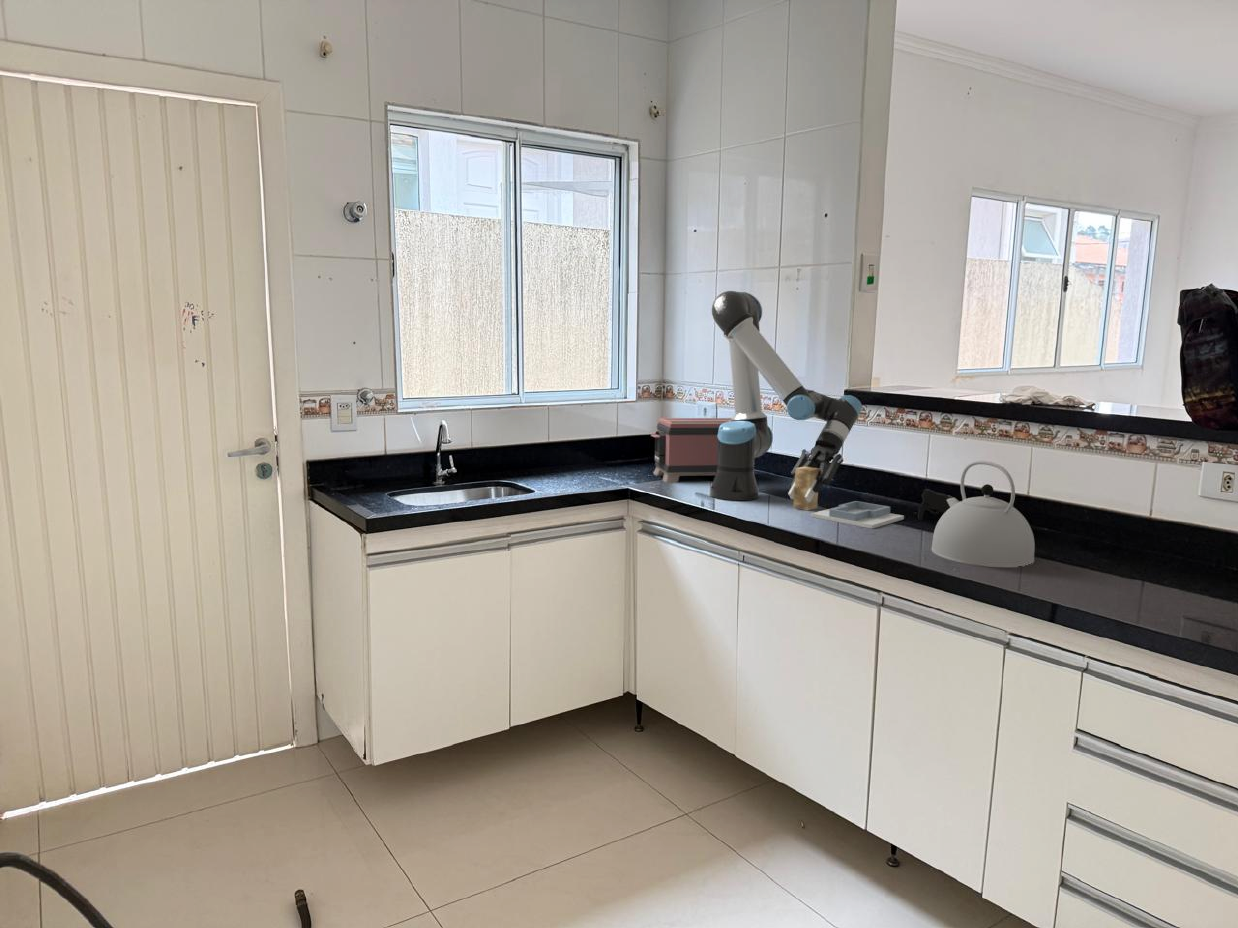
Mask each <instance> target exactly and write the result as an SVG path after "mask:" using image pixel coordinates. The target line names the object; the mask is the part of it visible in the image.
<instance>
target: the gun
mask: <svg viewBox="0 0 1238 928" xmlns="http://www.w3.org/2000/svg"><path fill="white" fill-rule="evenodd" d="M921 498H922V502H921V504H920V505H919V507H918V511H917V519H918V521H920V522H924V521H923V520H924V519H923V517H924V514H925V511H928V512H930V513H931V514H933V515H939V514H940V513H943V514H944V513H945V512H946V511H947V510H948V509H949V508H950V506H949V504H948V502H947V499H950V498H954V496H951V495H949V494H948V495H947V494H945V493H940V492H935V491H933V490H932V489H929V488H925V489H924V490H923V491H922V493H921ZM957 500H958V499H957ZM958 501H959V502H961V501H960V500H958ZM928 507H929V508H928ZM932 508H934V509H935V510H936V512H935V511H934V510H932Z"/></svg>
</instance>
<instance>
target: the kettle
mask: <svg viewBox="0 0 1238 928" xmlns="http://www.w3.org/2000/svg"><path fill="white" fill-rule="evenodd" d="M977 465H985V466H990V467H995V468H997V469H998V470H1000V471H1001V472H1002V473H1003V474H1004V475H1005V476H1006V478H1007V480H1008V482H1009V486H1010V493H1011V494H1010V501H1009V502H1007V501H1004V500H1003V499H999V498H996V497H993V496H991V495H992V494H994V487H993V486H992V485H991V484H987V483H986V484H984V485H982V486H981V490H980V491H981V493H982V494H983V496H982V495H981V496H972V497H968V498H967V496H966V492H965V491H966V490H965V477H966V474H967V473H968V471H969V470H970V469H971V468H972V467H974V466H977ZM959 483H960V494H961V497H962V498H961V499H962V500H961V501H960V500H959V501H960V502H959V501H958V499H957V498H956V497H953V498H950V499H947V502H948V504H949V506H950V508H949V509H948V510H947V511H946V512H945V513H943V514H942V515H941V517H940V518H939V520H938V521H937V523H936V525H935V529H934V531H933V537H932V543H931V549H930V550H931V552H932V553H933V554H935V555H937V556H938V557H940V558H943V559H946V560H949V561H952V562H958V563H962V564H966V565H971V566H979V567H990V568H1019V567H1018V566H1022V567H1026V566H1025V565H1027V566H1029V565H1028V564H1030V565H1032V564H1033V563H1034V562H1035V551H1036V549H1035V546H1036V545H1035V537H1034V533H1033V530H1032V528H1031V525H1030V523H1029V521H1028V520H1027V519H1026V517H1025V516H1024V515H1023V514H1022V513H1021V512H1020V511H1019V510H1018V509H1017V508H1015V507H1014V502H1015V498H1016V488H1015V487H1016V486H1015V484H1014V480H1013V477H1012V476H1011V474H1010V473H1009V471H1008V470H1007V469H1005V467H1004V466H1001V464H998V463H994V462H993V461H987V460H976V461H973V462H971V463H969V464H967V465H966V466H965V468H964V469H963V471H962V474H961V477H960V482H959ZM990 496H991V497H990ZM1031 563H1032V564H1031Z"/></svg>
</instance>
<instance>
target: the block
mask: <svg viewBox="0 0 1238 928" xmlns="http://www.w3.org/2000/svg"><path fill="white" fill-rule="evenodd" d="M819 469H820V467H819V468H818V467H813V468H812V467H799V468H796V470H795V490H794V499H793V508H794V509H798V508H799V510H804V511H810V510H811V509H812V510H815V508H816V509H818V499H819V491H818V492H817V493H815V494H814V496H813V498H812V500H811V502H807V500H806V498H805V495H806V493H807V491H808V489H809V488H810V486H811V484H812V482H813V480H814V479H815V480H817V478H816V477H818V473H819ZM812 510H811V511H812Z"/></svg>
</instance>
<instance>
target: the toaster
mask: <svg viewBox="0 0 1238 928" xmlns="http://www.w3.org/2000/svg"><path fill="white" fill-rule="evenodd" d="M732 418H733V417H719V418H718V417H713V418H711V417H698V418H697V417H682V418H681V417H667V418H666V417H660V418H658V423H657V425H656V429H657V430H655V431H656V432H655V434H653V433H652V434H650V437H652V438H654V461H655V462H654V465H655V469H654V471H653V472H652V473H653V475H654V476H657V477H660V476H661V477H662V481H663V482H664V483H667V484H669V483H675V484H676V483H679V479H680V477H689V476H693V477H694V476H695V477H697V476H715V475H716V472H717V451H718V431H719V427H720V425H721V424H723V423H725V422H732V421H731V419H732Z"/></svg>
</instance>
